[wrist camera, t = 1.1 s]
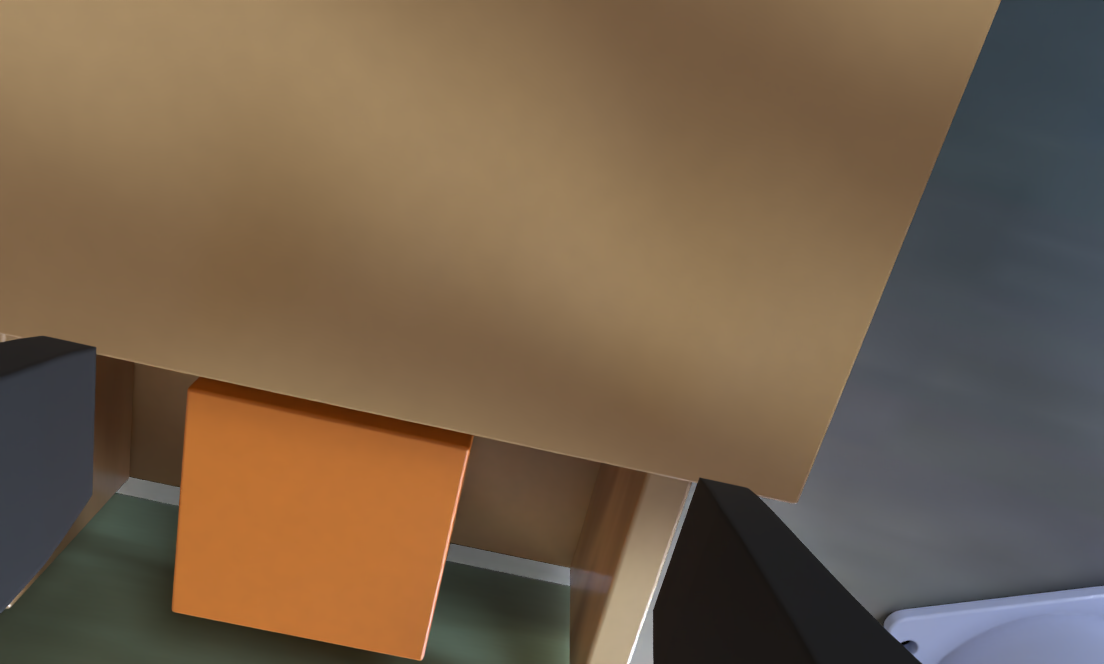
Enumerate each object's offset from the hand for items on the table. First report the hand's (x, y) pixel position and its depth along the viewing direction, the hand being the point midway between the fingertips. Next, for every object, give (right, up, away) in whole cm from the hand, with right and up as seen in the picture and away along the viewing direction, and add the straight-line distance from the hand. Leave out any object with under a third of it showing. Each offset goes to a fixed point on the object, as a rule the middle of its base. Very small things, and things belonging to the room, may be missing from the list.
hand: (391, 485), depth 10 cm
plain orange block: (-2, 0, +9) cm, 9 cm away
